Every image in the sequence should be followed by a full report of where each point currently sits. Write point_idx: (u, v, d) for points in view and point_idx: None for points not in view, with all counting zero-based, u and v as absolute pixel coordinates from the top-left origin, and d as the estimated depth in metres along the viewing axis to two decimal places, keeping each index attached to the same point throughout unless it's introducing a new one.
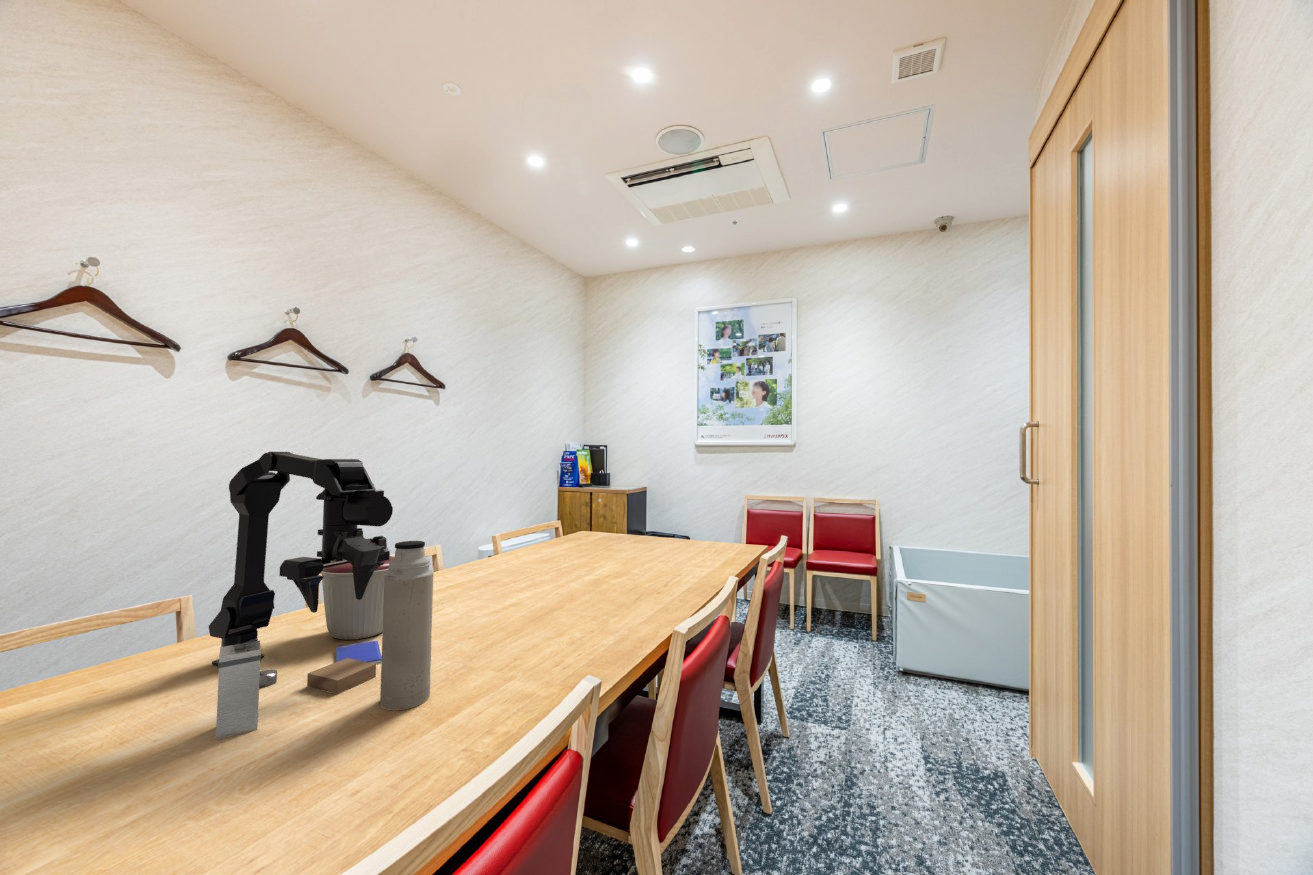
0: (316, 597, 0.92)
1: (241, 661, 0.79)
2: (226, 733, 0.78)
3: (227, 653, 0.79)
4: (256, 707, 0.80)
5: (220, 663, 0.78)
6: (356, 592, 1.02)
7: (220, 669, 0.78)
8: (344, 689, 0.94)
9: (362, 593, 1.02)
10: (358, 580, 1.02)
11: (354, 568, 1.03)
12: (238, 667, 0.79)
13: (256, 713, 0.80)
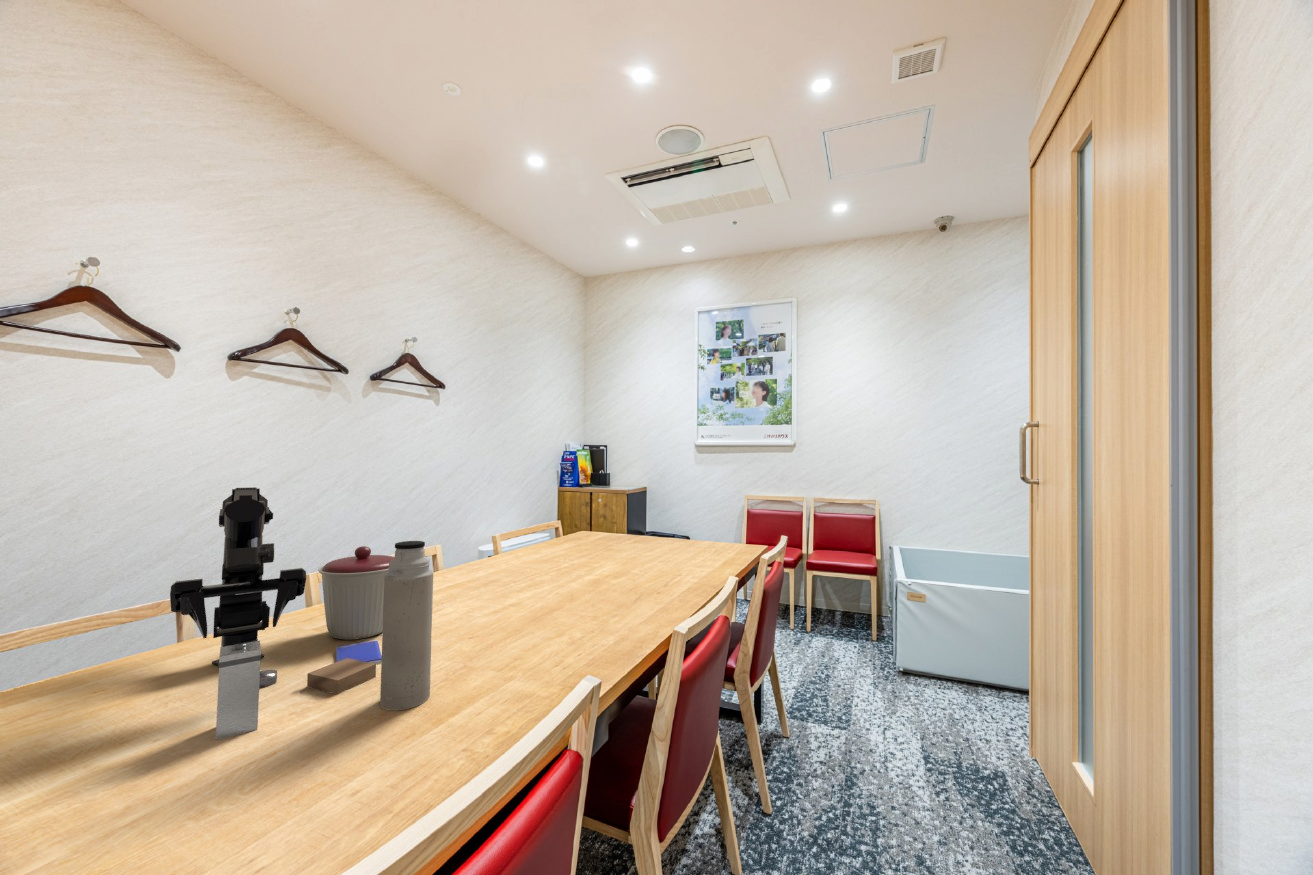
0: (202, 618, 0.85)
1: (241, 661, 0.79)
2: (226, 733, 0.78)
3: (228, 653, 0.79)
4: (256, 707, 0.80)
5: (220, 663, 0.78)
6: None
7: (220, 669, 0.78)
8: (344, 689, 0.94)
9: (275, 617, 0.90)
10: None
11: None
12: (238, 667, 0.79)
13: (256, 713, 0.80)
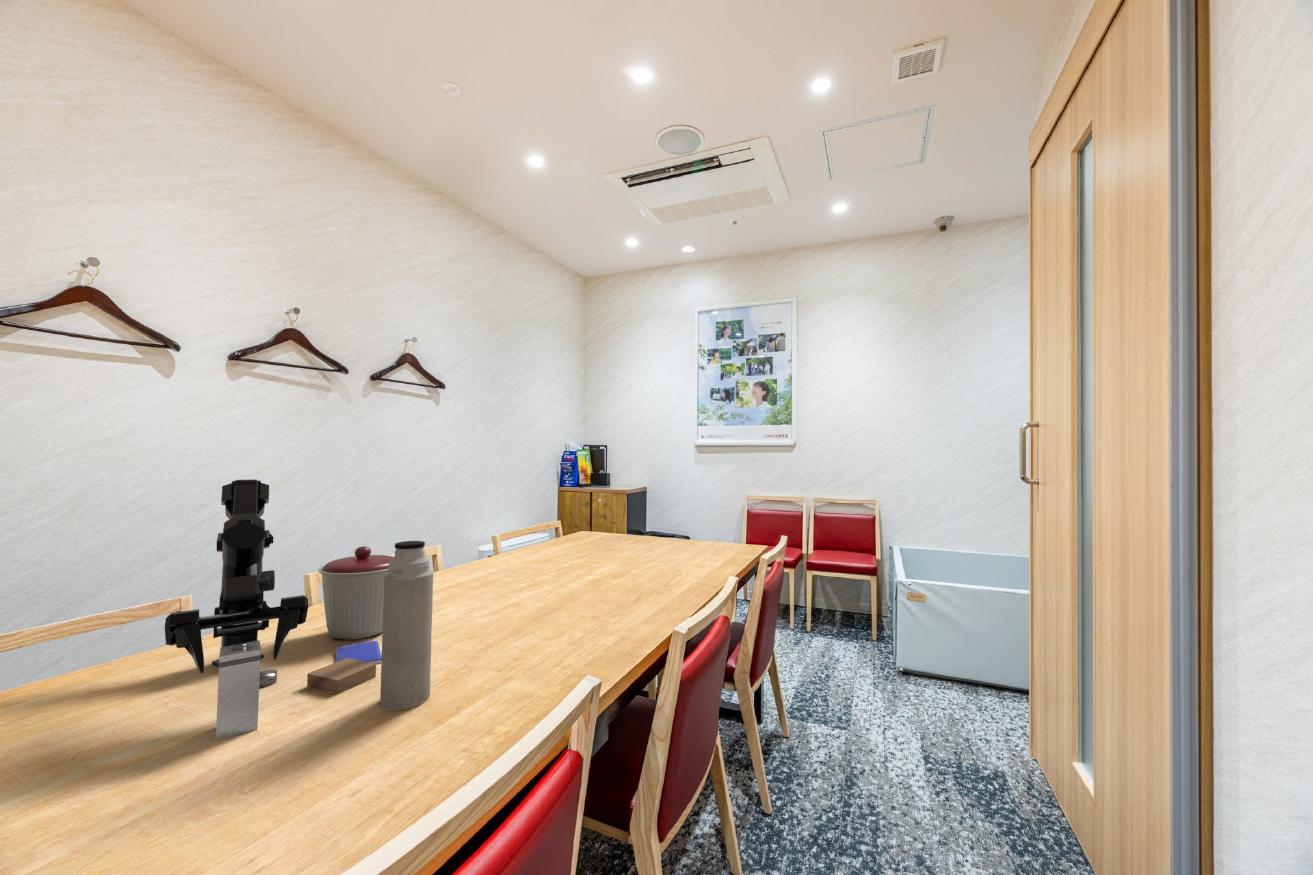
0: (199, 652, 0.80)
1: (241, 661, 0.79)
2: (226, 733, 0.78)
3: (228, 653, 0.79)
4: (256, 707, 0.80)
5: (220, 663, 0.78)
6: (273, 652, 0.86)
7: (220, 669, 0.78)
8: (344, 689, 0.94)
9: (276, 649, 0.86)
10: None
11: None
12: (238, 667, 0.79)
13: (256, 713, 0.80)
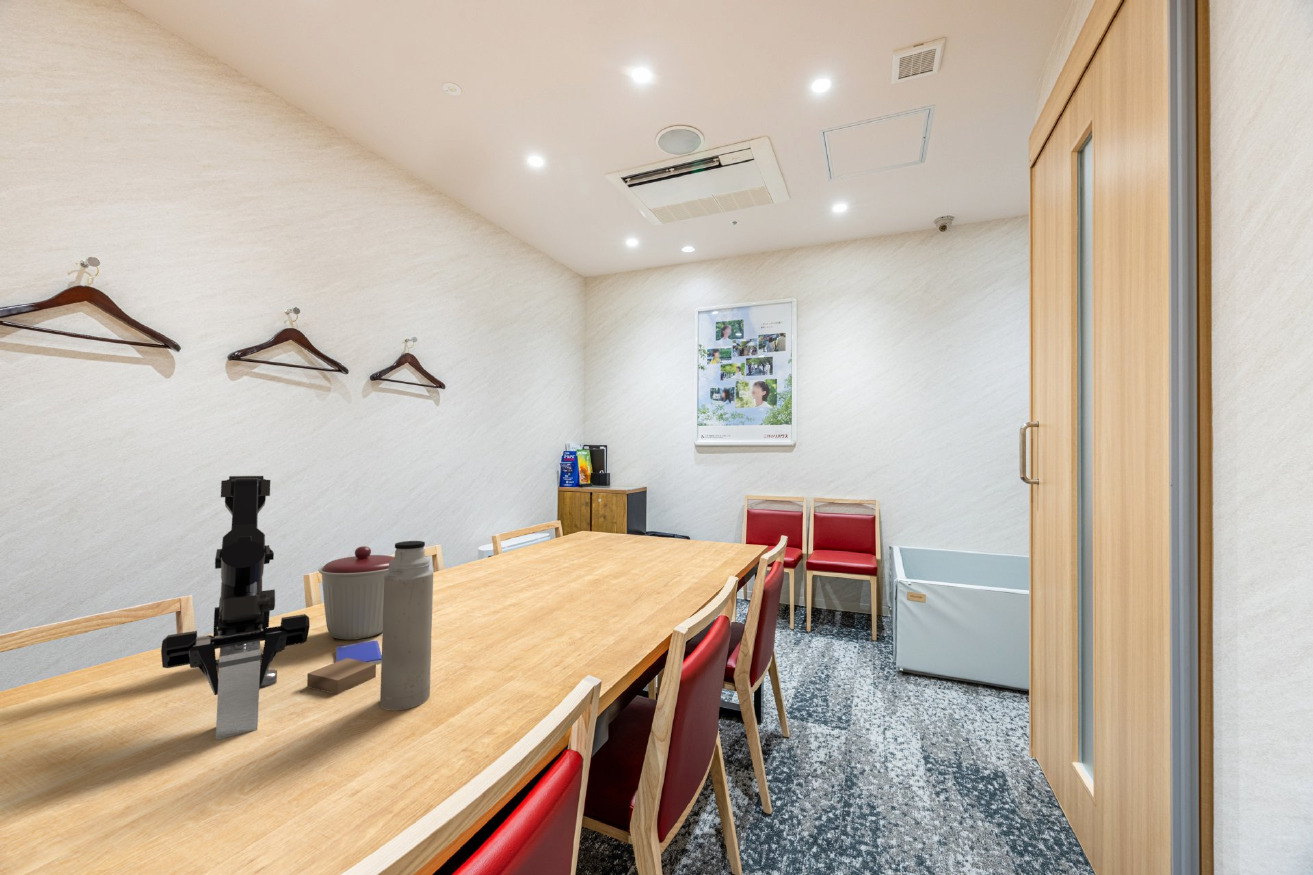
0: (213, 673, 0.79)
1: (241, 661, 0.79)
2: (226, 733, 0.78)
3: (228, 653, 0.79)
4: (256, 707, 0.80)
5: (220, 663, 0.78)
6: None
7: (220, 669, 0.78)
8: (344, 689, 0.94)
9: (261, 674, 0.82)
10: None
11: None
12: (238, 667, 0.79)
13: (256, 713, 0.80)
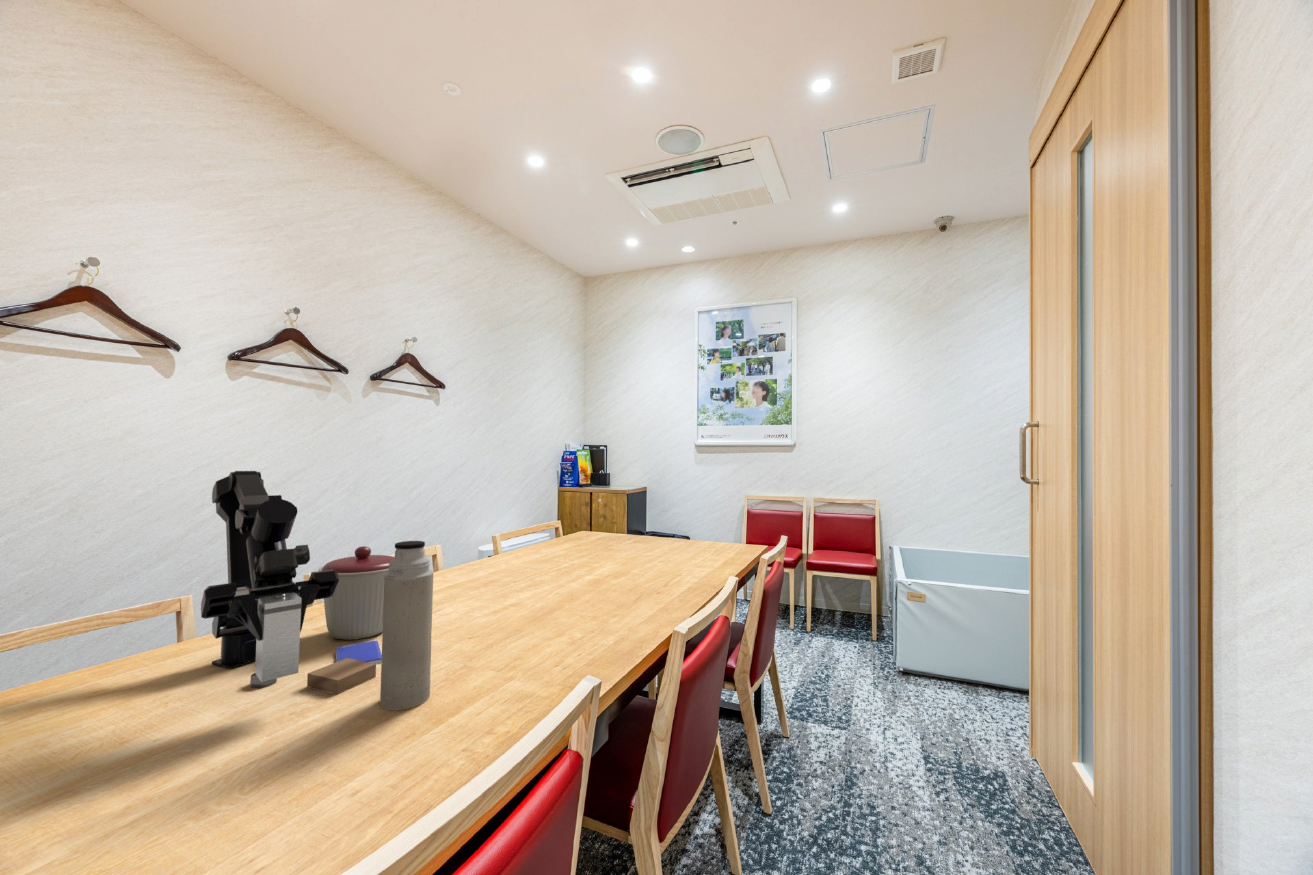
0: (256, 620, 0.83)
1: (284, 609, 0.84)
2: (271, 676, 0.83)
3: (271, 601, 0.84)
4: (297, 652, 0.85)
5: (265, 610, 0.82)
6: None
7: (265, 616, 0.82)
8: (344, 689, 0.94)
9: (300, 622, 0.87)
10: None
11: None
12: (281, 614, 0.84)
13: (297, 657, 0.85)
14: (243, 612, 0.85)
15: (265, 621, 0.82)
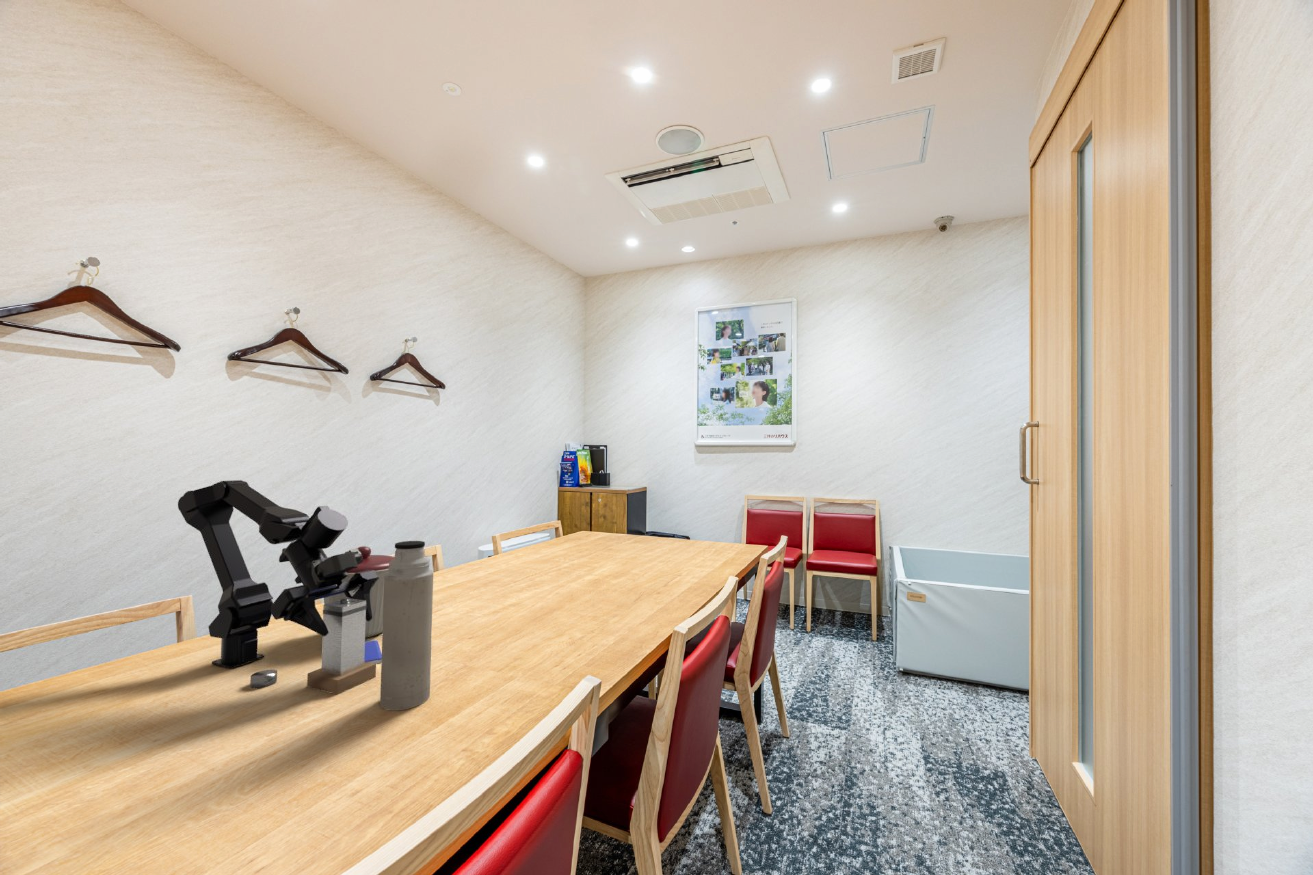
0: (320, 619, 0.93)
1: (355, 610, 0.97)
2: (346, 669, 0.96)
3: (344, 605, 0.96)
4: (363, 647, 0.99)
5: (343, 612, 0.95)
6: None
7: (343, 617, 0.95)
8: (344, 689, 0.94)
9: (369, 613, 1.02)
10: None
11: None
12: (353, 615, 0.97)
13: (363, 652, 0.99)
14: (299, 614, 0.94)
15: (343, 622, 0.95)
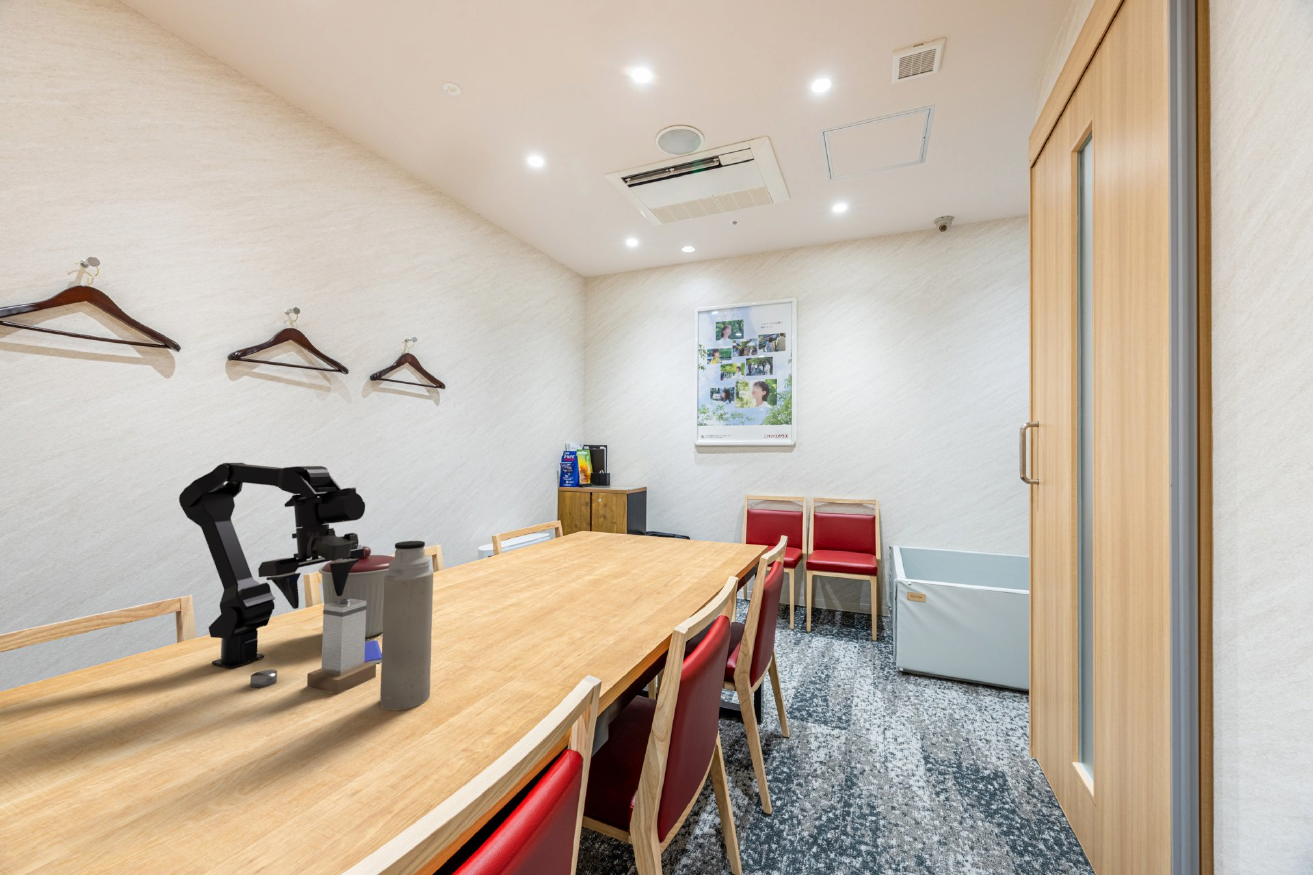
0: (296, 594, 0.99)
1: (355, 610, 0.97)
2: (346, 669, 0.96)
3: (344, 605, 0.96)
4: (363, 647, 0.99)
5: (343, 613, 0.95)
6: (336, 590, 1.08)
7: (343, 617, 0.95)
8: (344, 689, 0.94)
9: (341, 590, 1.08)
10: (337, 578, 1.09)
11: (332, 568, 1.10)
12: (353, 615, 0.97)
13: (363, 652, 0.99)
14: (281, 579, 0.99)
15: (343, 622, 0.95)
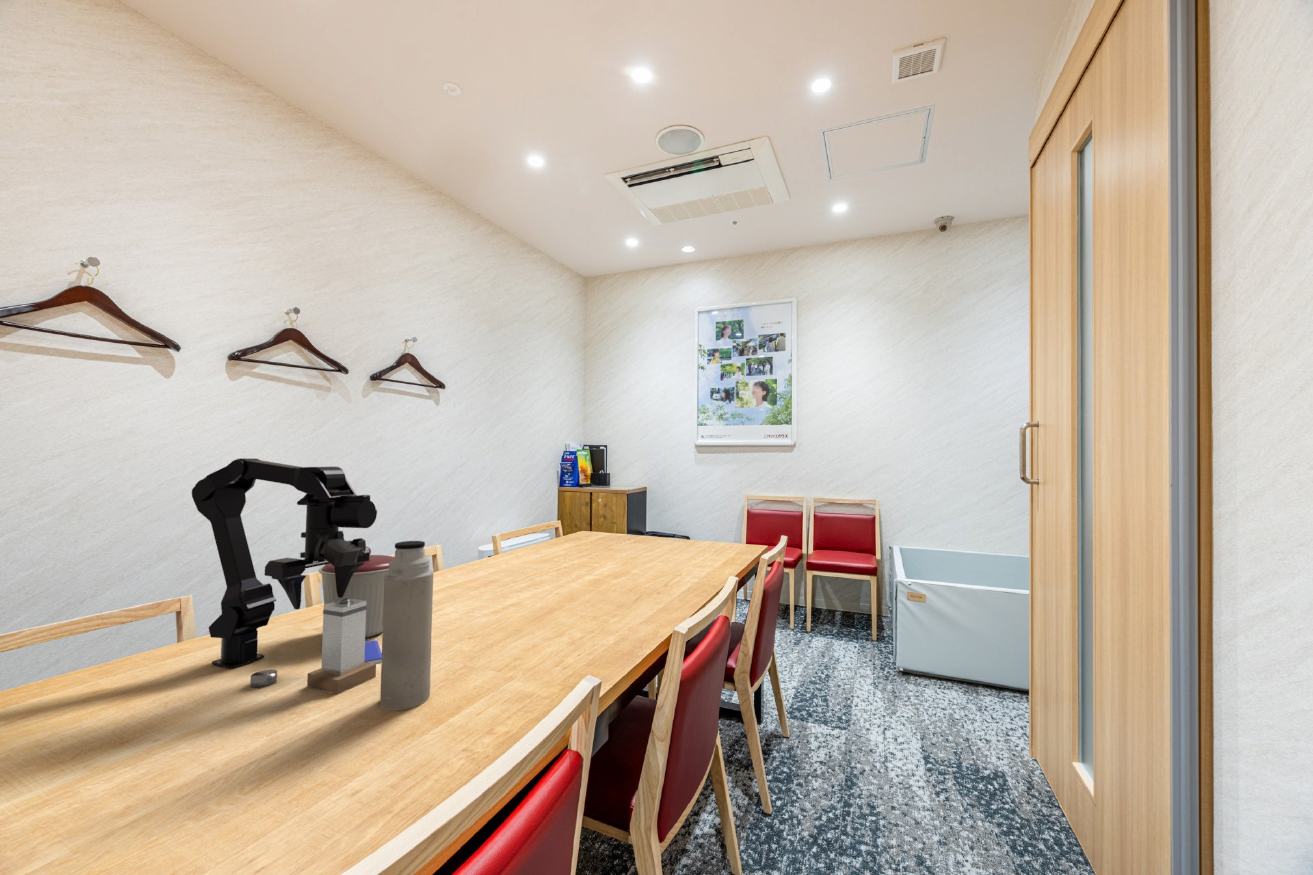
0: (299, 595, 1.00)
1: (355, 610, 0.97)
2: (346, 669, 0.96)
3: (344, 605, 0.96)
4: (363, 647, 0.99)
5: (343, 613, 0.95)
6: (337, 590, 1.09)
7: (343, 617, 0.95)
8: (344, 689, 0.94)
9: (343, 591, 1.09)
10: (339, 579, 1.09)
11: (336, 568, 1.10)
12: (353, 615, 0.97)
13: (363, 652, 0.99)
14: None
15: (343, 622, 0.95)
